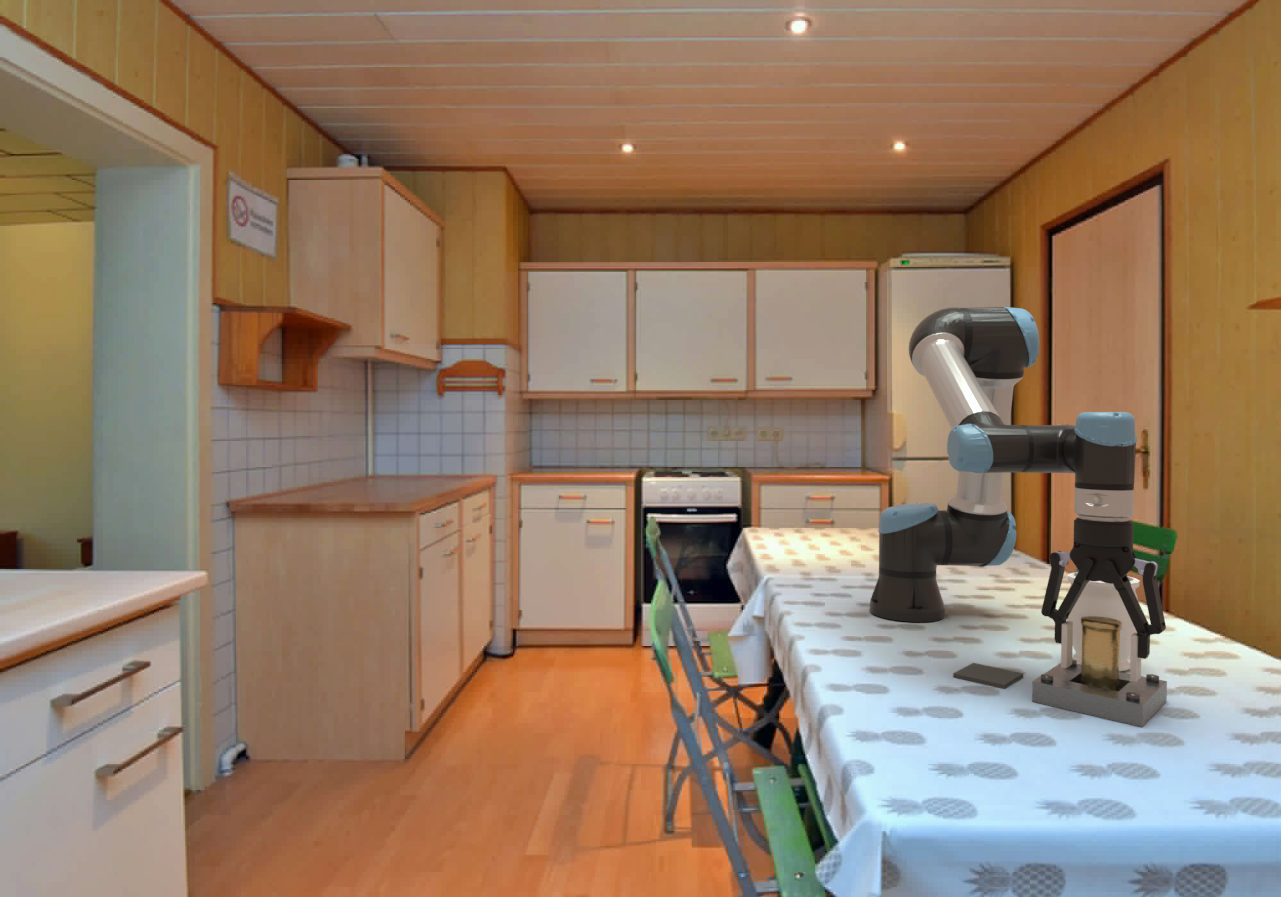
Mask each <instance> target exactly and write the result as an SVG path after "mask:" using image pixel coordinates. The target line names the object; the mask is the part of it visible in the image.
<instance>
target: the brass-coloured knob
mask: <svg viewBox="0 0 1281 897" xmlns="http://www.w3.org/2000/svg"><path fill="white" fill-rule="evenodd" d="M1081 625H1082V661H1081V684H1085V685H1089V686H1094V687H1099V688H1104V689H1109V690H1113V691H1118V692H1119V658H1120V629H1122V622H1121V621H1119V620H1116V619H1112V618H1107V617H1100V616H1084V617H1081Z"/></svg>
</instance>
